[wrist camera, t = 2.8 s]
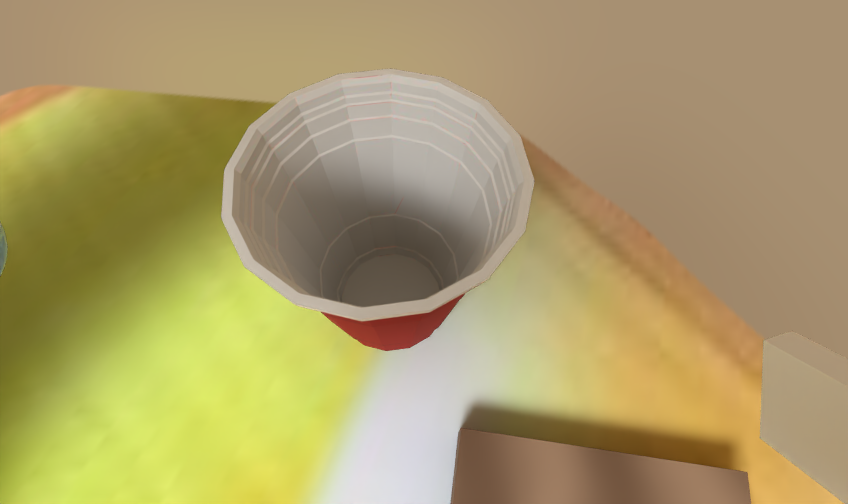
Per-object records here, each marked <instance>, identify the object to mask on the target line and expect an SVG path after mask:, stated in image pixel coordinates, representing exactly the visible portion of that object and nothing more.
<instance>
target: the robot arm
mask: <svg viewBox="0 0 848 504" xmlns="http://www.w3.org/2000/svg"><path fill="white" fill-rule="evenodd" d="M7 248H8V246H7V239H6V235H5V231H4V229H3V226H2V224H1V222H0V276H1V274H2V272H3V270H4V267H5V264H6V260H7ZM760 439H762V440H763V441H764V442H766V443H767V444H768V445H770V446H771V447H772V448H773V449H775V450H776V451H777V452H779V453H780V454H781V455H782V456H784V457H785V458H786V459H788V460H789V461H790V462H792V463H793V464H794V465H795V466H797V467H798V468H799V469H801V470H802V471H803V472H804V473H806V474H807V475H808V476H810V477H811V478H812V479H814V480H815V481H816V482H817V483H819V484H820V485H821V486H823V487H824V488H825V489H826V490H828V491H829V492H830V493H832V494H833V495H834V496H836V497H837V498H838V499H839V500H841V501H842V502H843V503H845V504H848V358H846V357H844V356H842V355H840V354H838V353H836V352H834V351H832V350H830V349H828V348H826V347H824V346H822V345H820V344H818V343H816V342H814V341H812V340H810V339H808V338H806V337H804V336H802V335H800V334H798V333H796V332H794V331H790V332H787V333H784V334H781V335H778V336H774V337H771V338H768V339H765V340H763V367H762V395H761V422H760Z"/></svg>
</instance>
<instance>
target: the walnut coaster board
mask: <svg viewBox="0 0 848 504" xmlns="http://www.w3.org/2000/svg"><path fill="white" fill-rule="evenodd" d="M451 504H751V499H750V490H749V482H748V473H747V472H743V471H737V470H730V469H724V468H717V467H711V466H704V465H698V464H691V463H685V462H678V461H672V460H665V459H659V458H653V457H646V456H640V455H633V454H627V453H620V452H614V451H607V450H601V449H594V448H588V447H581V446H575V445H568V444H562V443H555V442H549V441H543V440H536V439H530V438H523V437H517V436H510V435H504V434H497V433H491V432H484V431H478V430H471V429H465V428H461V429H460V431H459V432H458V441H457V450H456V459H455V468H454V477H453V486H452V495H451Z"/></svg>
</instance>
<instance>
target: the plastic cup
mask: <svg viewBox="0 0 848 504" xmlns="http://www.w3.org/2000/svg"><path fill="white" fill-rule="evenodd" d="M534 182H535V181H534V177H533V174H532V171H531V168H530V165H529V162H528V158H527V155H526V152H525V149H524V146H523V143H522V140H521V136H520V135H519V134H518V133H517V131H516V130H515V129H514V128H513V127H512V126H511V125H510V124H509V123H508V122H507V121H506V120H505V118H504V117H503V116H502V115H501V114H500V113H499V112H498V111H497V110H496V109H495V108H494V106H493V105H492V104H491V103H490V102H489V101H488V100H486V99H485V98H483V97H481V96H479V95H477V94H475V93H473V92H471V91H469V90H467V89H465V88H463V87H461V86H459V85H457V84H455V83H453V82H451V81H449V80H447V79H445V78H443V77H438V76H432V75H426V74H421V73H415V72H409V71H403V70H397V69H382V70H372V71H362V72H353V73H343V74H337V75H334V76H332V77H329V78H327V79H324V80H322V81H319V82H317V83H314V84H312V85H309V86H307V87H304V88H302V89H299V90H297V91H294V92H292V93H289V94H288V95H287V96H285V97H284V98H283V99H282V100H280V101H279V102H278V103H277V104H275V105H274V106H273V107H272V108H271V109H269V110H268V111H267V112H266V113H264V114H263V115H262V116H261V117H259V118H258V119H257V120H256V121H254V122H253V123H252V124H251V125H250V126H249V127H248V129H247V130H246V132H245V134H244V136H243V137H242V139H241V141H240V143H239V144H238V146H237V148H236V150H235V151H234V153H233V155H232V157H231V158H230V160H229V162H228V164H227V165H226V167H225V169H224V182H223V198H222V213H221V219H222V221H223V223H224V225H225V228H226V230H227V232H228V234H229V236H230V238H231V240H232V242H233V244H234V246H235V248H236V251H237V253H238V255H239V257H240V259H241V261H242V263H243V265H244V267H245V268H247V269H248V270H249V271H251V272H252V273H253V274H255V275H256V276H257V277H259V278H260V279H261V280H263V281H264V282H265V283H267V284H268V285H269V286H271V287H272V288H273V289H275V290H276V291H277V292H279V293H280V294H281V295H283V296H284V297H285V298H287V299H288V300H289V301H291V302H292V303H293V304H295V305H297V306H300V307H304V308H308V309H312V310H316V311H320V312H321V313H323V314H324V315H325V316H326V317H327V318H328V319H329V320H331V321H332V322H333V323H334V324H336V325H337V326H338V327H340V328H341V329H342V330H344V331H345V332H346V333H348V334H349V335H350V336H351V337H353V338H354V339H357V340H358V341H359V342H361V343H362V344H363V345H365V346H369V347H373V348H377V349H381V350H385V351H390V350H397V349H405V348H410V347H412V346H414V345H415V344H417V343H419V342H421V341H422V340H424V339H426V338H428V337H429V336H430V335H431V334H432V333H433V331H434V330H435V329H436V328H438V327H439V326H440V325H441V323H442V322H443V321H444V319H445V318H446V317H447V316H448V314H449V313H450V312H451V310H452V309H453V308H454V306H455V305H456V304H457V302H458V301H459V300H460V299H461V298H462V297H463V296H464V294H465V293H466V292H467V291H469V290H471V289H473V288H475V287H476V286H478V285H480V284H482V283H484V282H485V281H486V280H487V279H488V278H489V277H490V276H491V275H492V273H493V272H494V271H495V270H496V268H497V267H498V266H499V264H500V263H501V262H502V260H503V259H504V258H505V257H506V255H507V254H508V253H509V251H510V250H511V249H512V248H513V246H514V245H515V244H516V242H517V241H518V240H519V238H520V237H521V236H522V235H523V233H524V232H525V230H526V224H527V219H528V214H529V208H530V203H531V198H532V192H533V187H534Z"/></svg>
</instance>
